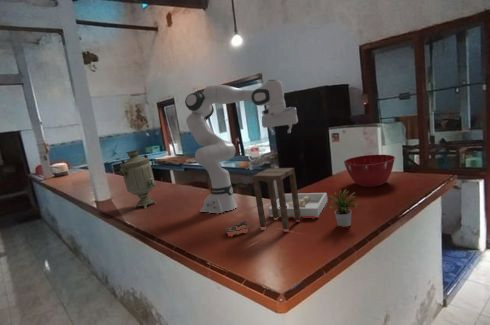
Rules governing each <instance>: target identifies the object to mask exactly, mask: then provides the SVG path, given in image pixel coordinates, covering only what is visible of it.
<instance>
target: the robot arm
mask: <svg viewBox="0 0 490 325" xmlns="http://www.w3.org/2000/svg"><path fill="white" fill-rule="evenodd" d="M243 101H244V102H245V101H246V102H247V101H250V102H252V103H253V104H254V105H255V106H259V107H262V106H268V108H267V107H266V108H265V109H263V110H262V111H261V114H262V117H261V124H262V128H264V129H265V128H268V130H269V131H270V132H271V135H272V136H274V135H276V131H274V130H273V127H274V128H275V127H279V126H288V129H287V134H291V132H292V128H293V125H296V124H297V123H299V118H298V115H297V113H298V110H297V108H296V107H294V106H289V107H286V106H287V105H286V100H285V92H284V86H283V82H282V81H281V80H280V79H268V80H267V81H266V82H265V83H264V84H263V85H261V86H260V87H258V88H255V89H254V90H252V89H243V88H238V87H235V86H231V85H227V84H226V85H225V84H212V85H207V86H205V87H204V89H203V92H202V91H196V92H192V93H189V94H188V95H186V97H185V101H184V103H185V106H186V108H187V109H188V110H189V111H191V113H190V114H188V116H187V117H186V121H185V122H186V125H187V128H188V130H189V131H190V134H191V135H192V137H193V138H194V140H195V142H196V143H197V144H198V145H199V146H201V147H199V148H198V149H197V150H196V151H195V153H194V158H195V161H196V163H197V164H198V165H199V166H201V167H202V168H204V169H205V170H206V172H207V173H208V174H209V178H210V183H211V187H210V188H209V189H208V192H210V194H208V196H207V197H206V198H205V199H204V200H203V204H202V205H203V207H202V208H201V209H200V213H201V212H209V213H208V214H210V213H221V212H224V211H229V210H232V211H234V210H236V209H237V208H238V205H237V202H236V200H235V196H234V191H233V185H232V183H231V177H230V173H229V170H227V169H225V168H224V167H221V165H220V163H222V162H225V161H229V160H230V159H232V158H234V157H235V155H236V153H237V152H236V147H235V145H234V144H233V143H232V142H231V141H227V140H224V139H223V138H221V137H220V136H218V135H217V134H216V133H215V132H214V131H213V130H212V128H211V127H210V126H209V124H208V123H207V122H206V121H208V119H210V117H212V116H213V113H214V112H215V109H214V105H213V104H219V105H226V104H233V103H238V102H243ZM235 208H236V209H235ZM233 209H234V210H233ZM229 212H230V211H229ZM224 213H225V212H224ZM221 214H222V213H221Z"/></svg>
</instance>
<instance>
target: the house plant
mask: <svg viewBox="0 0 490 325" xmlns="http://www.w3.org/2000/svg"><path fill="white" fill-rule="evenodd" d="M349 191H350V190H347V188H345V189H344V190H343V192H342V188H339V195H338V193H337V192H335V191H334V193H332V192H331V194H332V195H333V194H334V195H335V197H336V198H335V197H334V196H332V195H327V196H324V197H327V198H330V199H331V202H332V203H333V204H335V205H329V206H328V209H329V210H331V209H336V210H335V211H334V216H335V219H336V223H337V226H338V225H339V226H350V225H352V210H351V209H349V208H352V207H353V208H357V206H358V203H356V202H357V199H353V198H357V197H356V196H353V195H354V194H355V193H357V192H353V193H351V194H350V195H349V196H348V197H347V199H346V196H347V194H348V193H349ZM341 192H342V193H341ZM355 201H356V202H355ZM353 202H354V203H353ZM339 226H338V227H339ZM350 227H351V226H350Z"/></svg>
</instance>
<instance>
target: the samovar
mask: <svg viewBox="0 0 490 325" xmlns="http://www.w3.org/2000/svg"><path fill="white" fill-rule="evenodd" d="M139 151H140V149H134V150H130V151H126V152H125V153H126V154H127V156H128V157H129V158H128V159H127V160H126V161H125V160H124V159H123V160H121V161H120V162H121V164H119V166H120V168H115V169H114V172H117V174H118V175H119V176H121V177H122V178H123V180H124V184H125V188H126V191H127V192H128V193H129V194H132V195H134V196H137V198H139V201H138V202H137V204H136V205H135V206H134V209H136V208H138V207H143V209H144V210H145V209H147V208H148V205H151V204H152V203H153V204H157V203H158V202H157V201H155V200H153V199H151V197H148V196H149V192H151V191H152V190H153V188H156V182H155V178H154V172H153V169H152V168H153V166H154V162H155V161H156V158H150V157H147V155H148V154H147V155H146V154H144V155H143V157H142V156H139ZM150 163H151V164H150Z"/></svg>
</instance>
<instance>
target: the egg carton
mask: <svg viewBox="0 0 490 325" xmlns="http://www.w3.org/2000/svg"><path fill="white" fill-rule="evenodd" d="M242 225H246V226H245V227H247V228H249V229H250V227H249V225H248V223H247V222H246V220H242V221H240V222H239V223H237V224H235V225H232V226H229V227H225V232H226V231H227V232H233V231H240V230H242V229H243V228H242V229H240V230H236V227H235V226H237V227H240V226H242ZM228 228H232V229H231V230H232V231H229V229H228ZM247 228H244V229H247Z"/></svg>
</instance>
